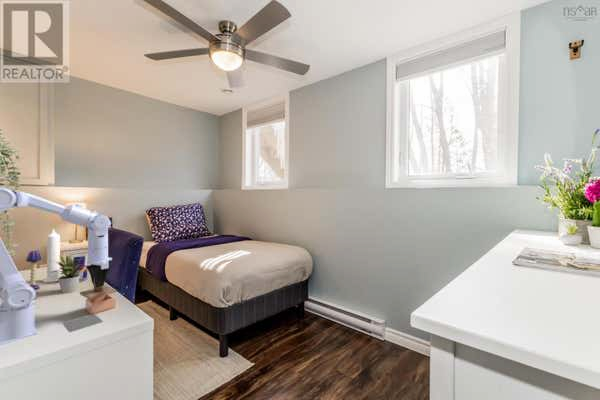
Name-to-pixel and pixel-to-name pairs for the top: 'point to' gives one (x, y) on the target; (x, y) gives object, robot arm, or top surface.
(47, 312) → the top surface
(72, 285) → the house plant
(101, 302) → the open box
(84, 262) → the energy drink
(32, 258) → the toy lamp
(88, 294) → the lid
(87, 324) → the mat
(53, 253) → the candle
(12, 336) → the robot arm
